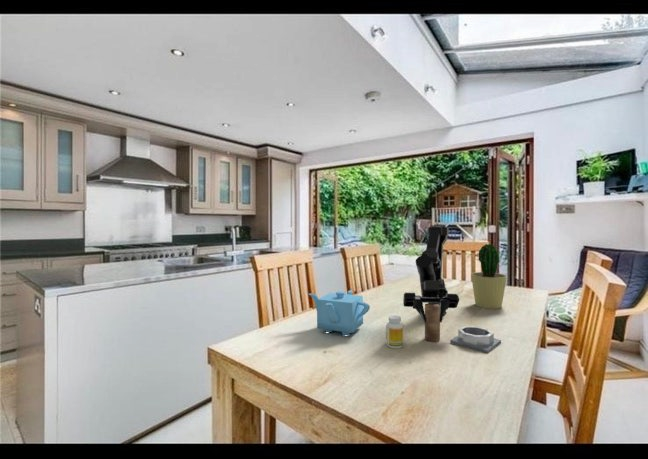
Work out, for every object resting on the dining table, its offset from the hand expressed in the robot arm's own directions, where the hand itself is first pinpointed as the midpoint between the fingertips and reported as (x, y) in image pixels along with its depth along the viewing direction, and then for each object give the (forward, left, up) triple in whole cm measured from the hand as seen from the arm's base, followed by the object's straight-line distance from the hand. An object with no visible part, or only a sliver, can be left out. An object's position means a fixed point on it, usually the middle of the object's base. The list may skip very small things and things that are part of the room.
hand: (433, 321), depth 115 cm
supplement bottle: (-7, -13, -7) cm, 16 cm away
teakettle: (-31, -15, -7) cm, 35 cm away
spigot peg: (-1, +1, -7) cm, 7 cm away
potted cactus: (-4, +61, -7) cm, 62 cm away
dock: (+11, +8, -7) cm, 15 cm away
